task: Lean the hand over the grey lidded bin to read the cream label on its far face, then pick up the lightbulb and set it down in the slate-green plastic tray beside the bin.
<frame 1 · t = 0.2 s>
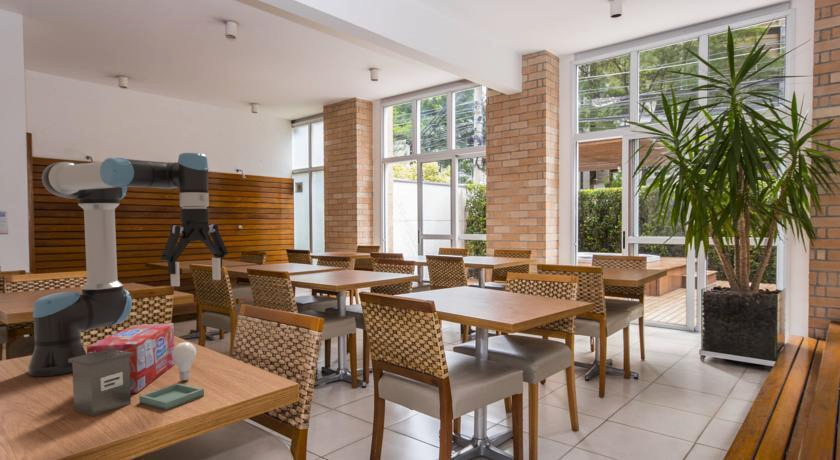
hand: (196, 282, 142), 28 cm above the table, fingers open, 13 cm apart
lightbulb: (185, 381, 142), on the table
tray: (172, 399, 127), on the table
box: (135, 379, 145), on the table
grey lidded bin: (102, 407, 123), on the table
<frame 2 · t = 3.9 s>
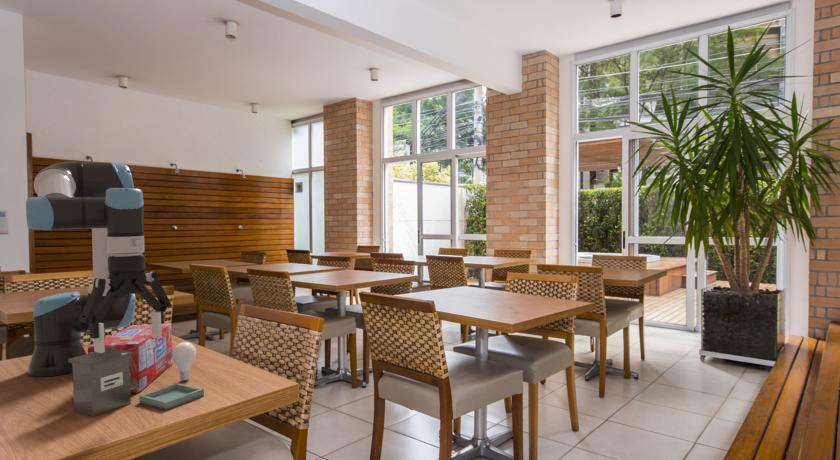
hand: (129, 344, 117), 17 cm above the table, fingers open, 13 cm apart
nothing on the table moved.
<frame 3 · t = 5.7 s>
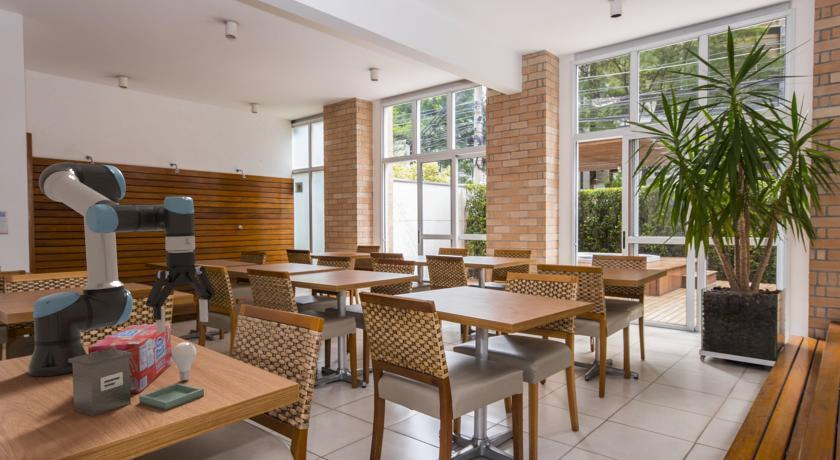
hand: (183, 326, 141), 16 cm above the table, fingers open, 13 cm apart
nothing on the table moved.
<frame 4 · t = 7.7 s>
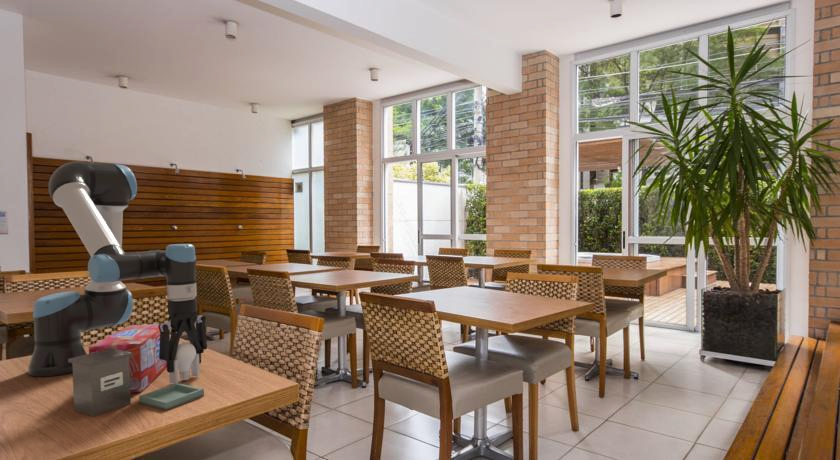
hand: (184, 379, 142), 0 cm above the table, fingers closed on lightbulb, 6 cm apart
lightbulb: (185, 381, 142), on the table, touching gripper
everything else where it was.
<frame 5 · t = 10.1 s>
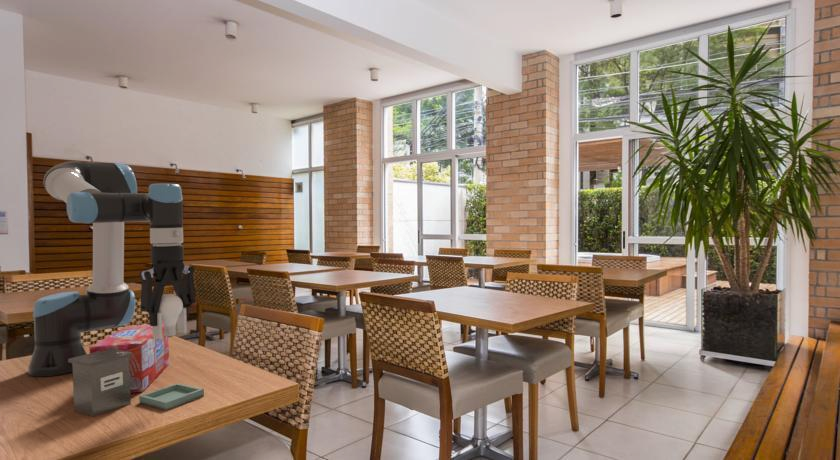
hand: (170, 335, 127), 17 cm above the table, fingers closed on lightbulb, 6 cm apart
lightbulb: (170, 337, 127), point 16 cm above the table, touching gripper
when the fingers open (2 cm above the table, at t = 12.9 s): lightbulb drops 1 cm, resting on tray.
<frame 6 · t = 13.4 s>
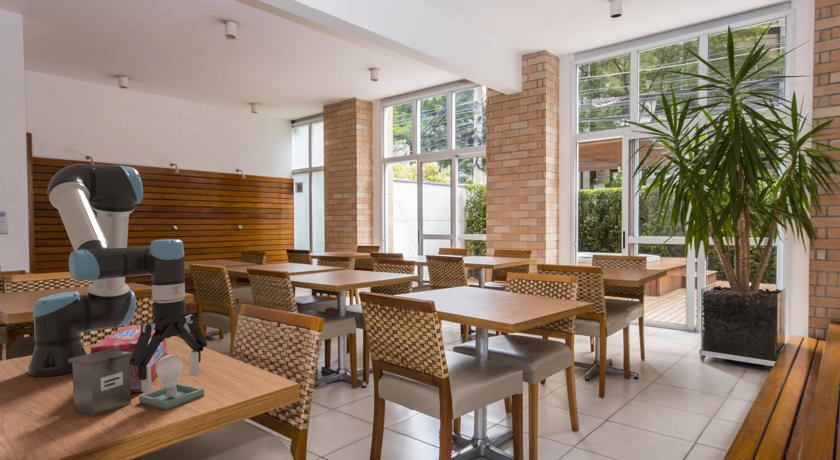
hand: (171, 383, 127), 4 cm above the table, fingers open, 13 cm apart
lightbulb: (171, 398, 127), resting on tray
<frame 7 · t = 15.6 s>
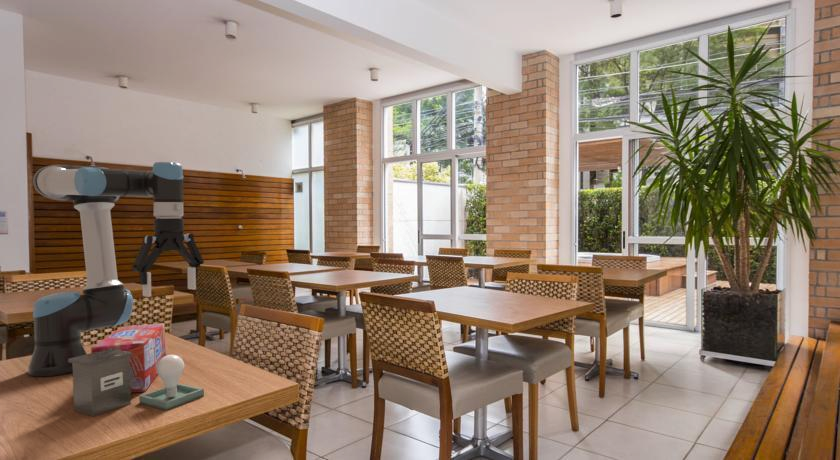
hand: (170, 292, 141), 25 cm above the table, fingers open, 13 cm apart
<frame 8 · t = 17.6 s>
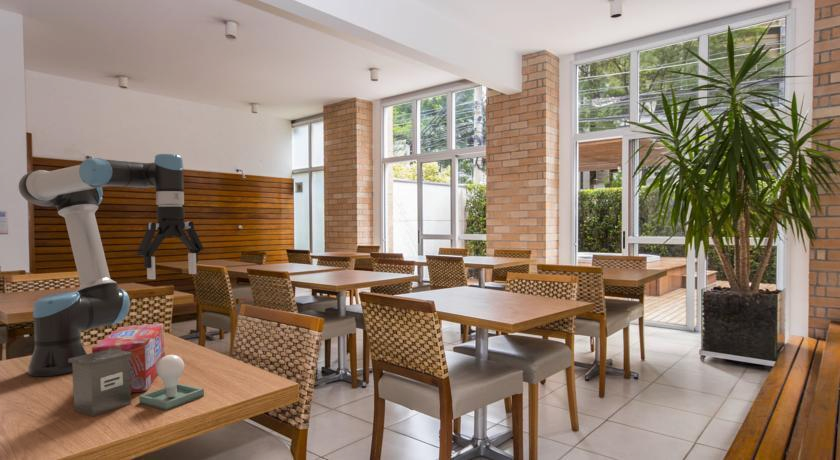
hand: (172, 276, 151), 29 cm above the table, fingers open, 13 cm apart
at the end: lightbulb inside the target area on the tray (0.2 cm from its centre), point 0.3 cm above the tray's base; the gripper is holding nothing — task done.
